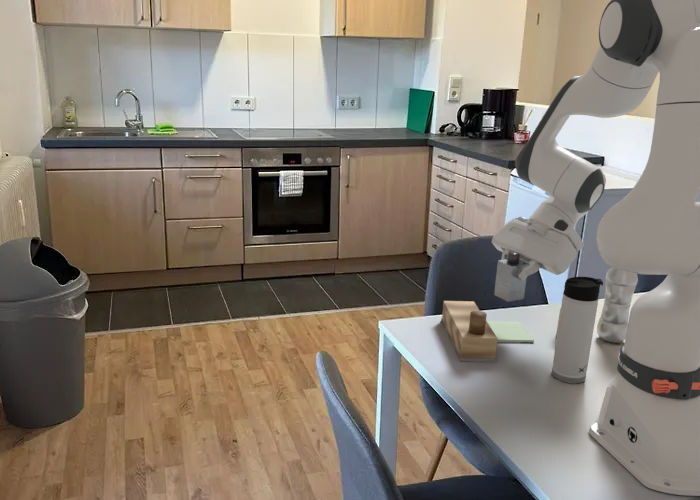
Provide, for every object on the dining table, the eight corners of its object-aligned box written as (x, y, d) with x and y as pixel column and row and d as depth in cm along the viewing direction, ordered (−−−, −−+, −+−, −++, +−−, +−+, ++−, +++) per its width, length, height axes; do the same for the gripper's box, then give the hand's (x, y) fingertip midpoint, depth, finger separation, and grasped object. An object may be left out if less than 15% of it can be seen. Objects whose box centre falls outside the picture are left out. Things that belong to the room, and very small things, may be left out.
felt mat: (533, 342, 137) (534, 340, 137) (488, 342, 137) (488, 339, 137) (519, 324, 147) (519, 321, 147) (477, 323, 146) (477, 320, 146)
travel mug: (589, 386, 120) (606, 286, 114) (553, 381, 121) (567, 282, 115) (584, 371, 125) (600, 275, 120) (550, 366, 127) (563, 271, 121)
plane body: (495, 361, 128) (500, 320, 125) (460, 361, 127) (464, 319, 125) (471, 321, 147) (475, 284, 145) (441, 320, 147) (444, 283, 144)
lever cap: (523, 298, 139) (529, 255, 136) (507, 301, 137) (513, 257, 134) (509, 291, 142) (514, 249, 139) (494, 294, 140) (499, 251, 137)
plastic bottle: (621, 334, 143) (636, 250, 137) (630, 347, 137) (646, 259, 131) (591, 332, 144) (605, 248, 138) (599, 345, 137) (614, 257, 132)
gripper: (509, 206, 146) (472, 251, 145) (578, 229, 129) (536, 280, 127) (522, 223, 150) (485, 268, 148) (590, 247, 132) (549, 298, 131)
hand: (509, 274), depth 138 cm, fingers closed on lever cap, 4 cm apart
